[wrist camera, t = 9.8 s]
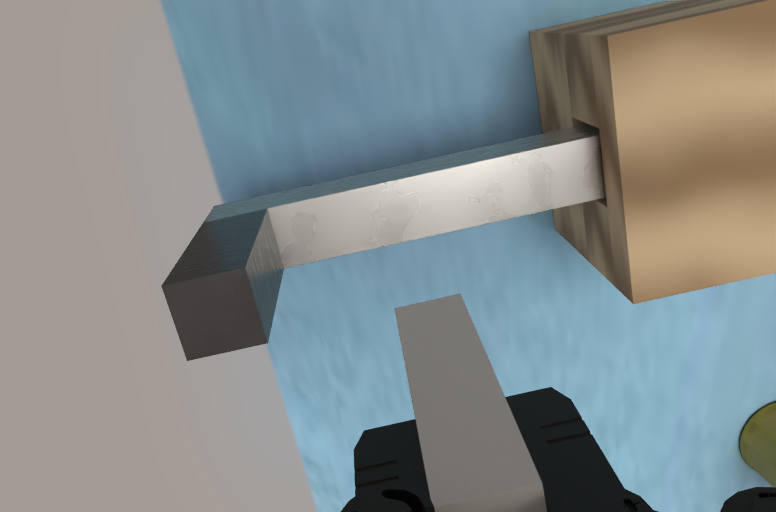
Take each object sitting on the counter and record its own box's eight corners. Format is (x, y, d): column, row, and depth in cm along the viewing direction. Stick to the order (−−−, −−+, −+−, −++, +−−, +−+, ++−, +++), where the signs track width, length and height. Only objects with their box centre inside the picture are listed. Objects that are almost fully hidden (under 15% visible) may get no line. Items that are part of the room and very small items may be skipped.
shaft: (214, 206, 35) (161, 285, 24) (703, 98, 34) (861, 131, 24) (231, 261, 36) (187, 360, 25) (706, 156, 35) (859, 212, 25)
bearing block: (529, 31, 39) (607, 35, 28) (667, 1, 39) (801, -7, 28) (555, 229, 43) (633, 304, 32) (680, 201, 43) (803, 266, 32)
